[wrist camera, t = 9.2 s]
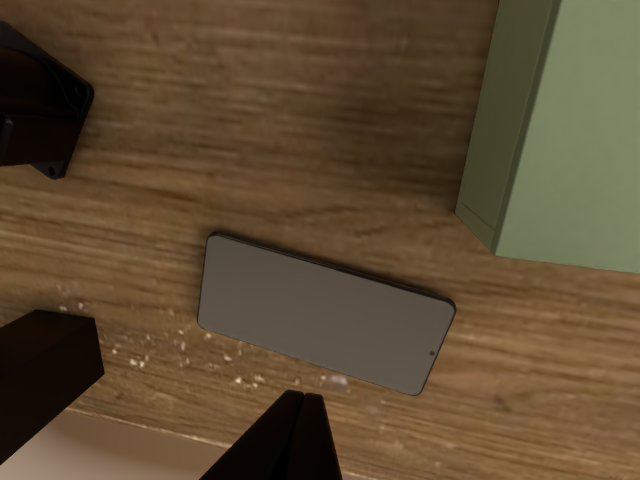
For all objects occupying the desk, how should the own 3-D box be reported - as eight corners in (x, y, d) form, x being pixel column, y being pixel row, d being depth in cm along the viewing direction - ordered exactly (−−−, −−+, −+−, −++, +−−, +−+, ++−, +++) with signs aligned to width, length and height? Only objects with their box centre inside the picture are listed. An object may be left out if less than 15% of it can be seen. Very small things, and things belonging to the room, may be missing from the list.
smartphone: (205, 231, 19) (461, 305, 18) (213, 227, 20) (457, 297, 19) (194, 328, 22) (419, 400, 20) (201, 320, 22) (418, 390, 21)
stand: (49, 364, 26) (-82, 455, 19) (35, 309, 25) (-114, 385, 17) (104, 374, 26) (-9, 473, 18) (94, 318, 24) (-35, 402, 17)
